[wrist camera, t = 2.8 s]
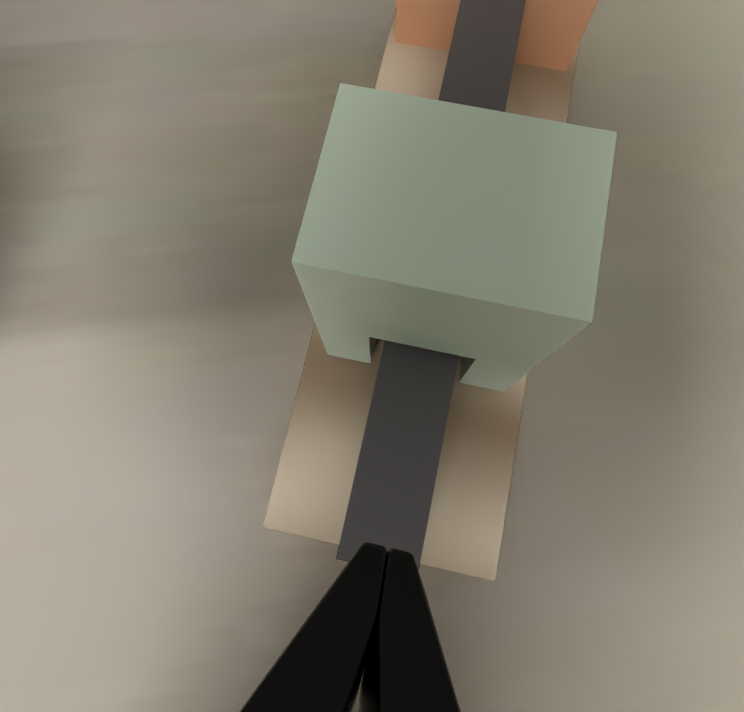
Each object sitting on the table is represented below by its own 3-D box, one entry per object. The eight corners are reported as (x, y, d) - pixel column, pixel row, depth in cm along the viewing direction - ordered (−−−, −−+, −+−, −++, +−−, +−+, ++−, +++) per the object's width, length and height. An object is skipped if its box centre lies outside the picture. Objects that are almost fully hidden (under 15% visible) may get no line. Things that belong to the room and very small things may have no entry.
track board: (485, 573, 17) (494, 581, 16) (272, 523, 18) (262, 527, 16) (571, 35, 22) (585, 2, 21) (402, 6, 22) (404, -27, 21)
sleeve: (503, 391, 17) (592, 322, 10) (327, 354, 17) (291, 261, 10) (522, 273, 18) (617, 131, 11) (355, 240, 18) (340, 82, 11)
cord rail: (410, 561, 16) (417, 577, 13) (343, 545, 16) (336, 558, 13) (513, 23, 20) (536, -54, 17) (461, 15, 20) (474, -64, 18)
